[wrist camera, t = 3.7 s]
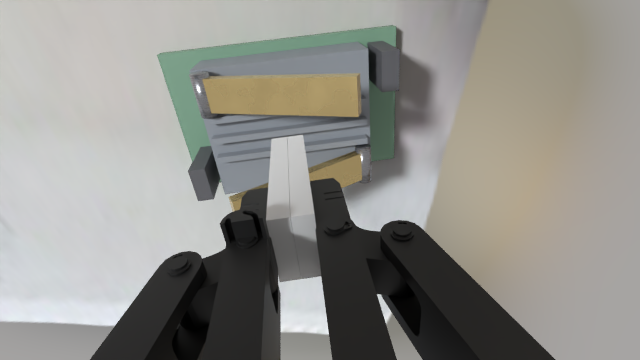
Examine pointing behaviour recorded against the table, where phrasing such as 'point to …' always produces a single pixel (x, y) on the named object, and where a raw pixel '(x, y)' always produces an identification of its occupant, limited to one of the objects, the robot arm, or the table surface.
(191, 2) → the table surface
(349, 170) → the strap
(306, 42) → the heatsink module
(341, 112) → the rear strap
